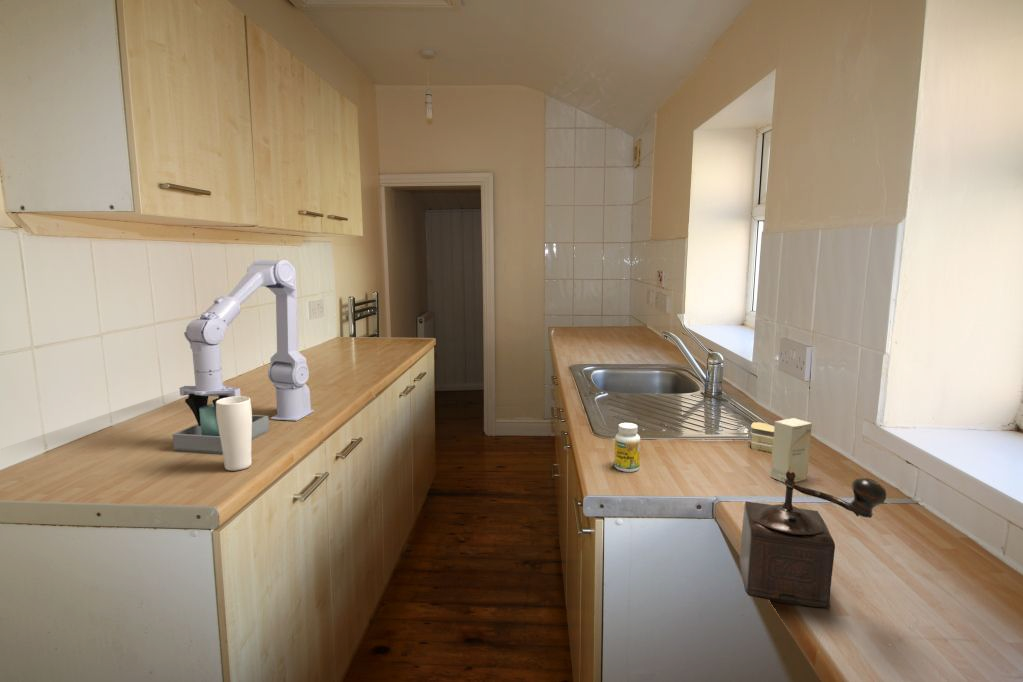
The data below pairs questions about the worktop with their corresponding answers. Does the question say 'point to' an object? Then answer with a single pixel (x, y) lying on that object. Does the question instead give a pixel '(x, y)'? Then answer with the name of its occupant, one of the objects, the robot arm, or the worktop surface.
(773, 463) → the skincare box
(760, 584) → the manual coffee grinder
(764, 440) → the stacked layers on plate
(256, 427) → the tray
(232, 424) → the drinking glass
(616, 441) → the supplement bottle
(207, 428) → the teal cylinder
